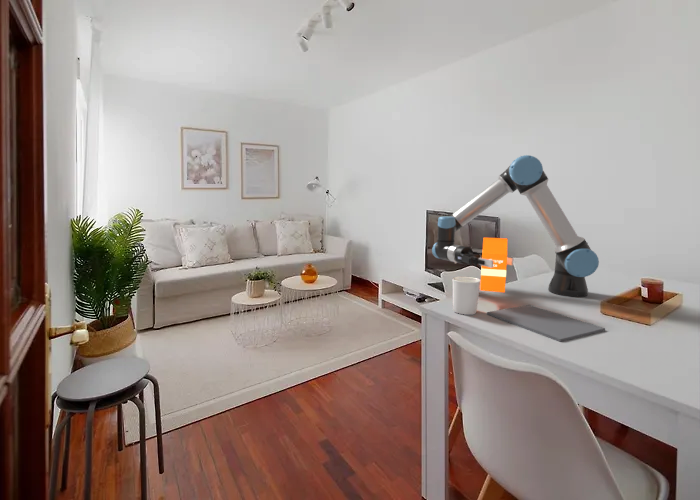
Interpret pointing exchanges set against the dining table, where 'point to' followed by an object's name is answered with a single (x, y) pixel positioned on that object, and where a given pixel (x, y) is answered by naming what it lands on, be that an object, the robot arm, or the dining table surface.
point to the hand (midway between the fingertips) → (502, 262)
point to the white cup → (465, 295)
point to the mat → (546, 322)
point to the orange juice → (494, 265)
